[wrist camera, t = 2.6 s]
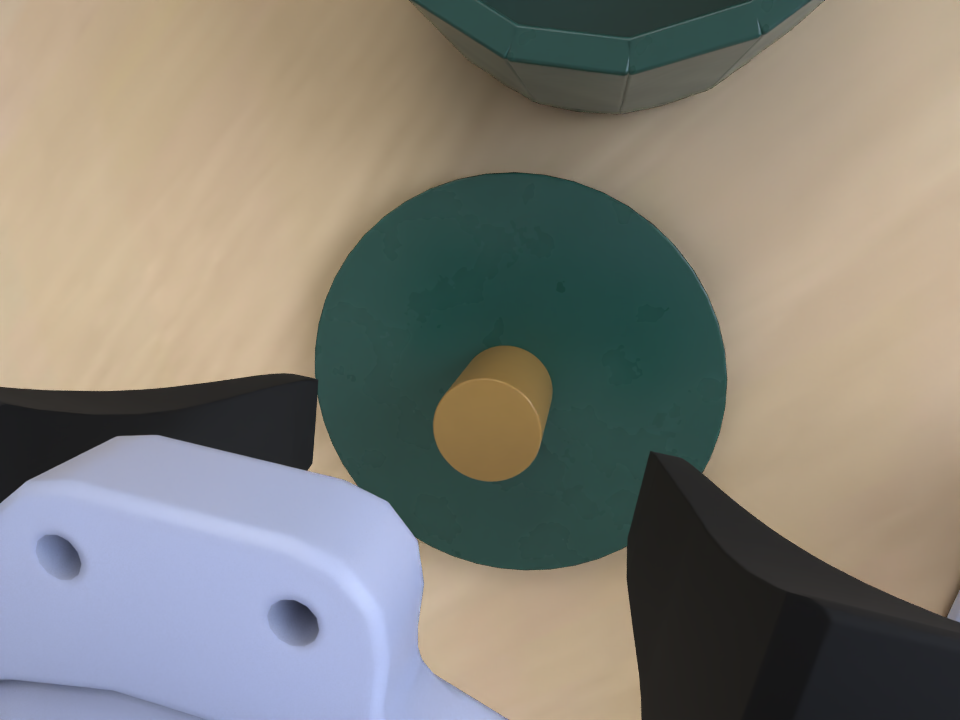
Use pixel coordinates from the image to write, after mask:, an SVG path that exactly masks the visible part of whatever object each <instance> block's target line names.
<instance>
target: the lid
mask: <svg viewBox="0 0 960 720" xmlns="http://www.w3.org/2000/svg"><path fill="white" fill-rule="evenodd" d="M315 378H316V379H319V380H318V400H319V404H320V408H321V412H322V416H323V420H324V423H325V426H326V428H327V431H328V434H329V436H330V439H331V442H332V444H333V446H334V448H335V450H336V452H337V454H338V455H339V457H340V459H341V461H342V463H343V465H344V467H345V468H346V469H347V471H348V472H349V474H350V475H351V477H352V478H353V480H354V481H355V483H356V484H357V485H358V487H359V488H361V489H363V490H365V491H367V492H369V493H371V494H373V495H375V496H377V497H379V498H381V499H383V500H385V501H387V502H389V504H390V505H391V506H392V508H393V509H394V510H395V512H396V513H397V514H398V516H399V517H400V518H401V519H402V521H403V522H404V523H405V525H406V526H407V527H408V529H409V530H410V531H411V533H412V534H413V535H414V536H415V537H416V538H417V539H419V540H421V541H423V542H424V543H426V544H428V545H430V546H431V547H434V548H436V549H438V550H440V551H443V552H445V553H447V554H449V555H452V556H454V557H457V558H460V559H464V560H467V561H470V562H473V563H476V564H481V565H486V566H491V567H497V568H503V569H516V570H547V569H556V568H562V567H569V566H575V565H579V564H582V563H586V562H589V561H593V560H596V559H599V558H602V557H604V556H607V555H609V554H611V553H614V552H616V551H618V550H621V549H623V548H624V547H626V546H627V539H628V534H629V530H630V527H631V523H632V519H633V515H634V511H635V507H636V503H637V499H638V496H639V492H640V488H641V484H642V480H643V476H644V472H645V469H646V465H647V461H648V457H649V453H650V451H653V452H657V453H662V454H666V455H671V456H676V457H680V458H683V459H684V460H686V461H687V462H689V463H690V464H691V465H693V466H694V467H695V468H696V469H698V470H699V471H700V472H701V473H702V472H703V471H704V469H705V467H706V465H707V463H708V461H709V460H710V458H711V455H712V452H713V450H714V447H715V444H716V442H717V439H718V436H719V433H720V429H721V424H722V420H723V415H724V411H725V404H726V389H727V370H726V358H725V349H724V344H723V340H722V336H721V331H720V327H719V323H718V320H717V318H716V315H715V312H714V310H713V307H712V305H711V302H710V299H709V297H708V295H707V293H706V291H705V289H704V288H703V286H702V284H701V282H700V280H699V279H698V277H697V275H696V273H695V272H694V270H693V269H692V267H691V266H690V265H689V263H688V262H687V261H686V259H685V258H684V257H683V255H682V254H681V253H680V252H679V250H678V249H677V248H676V246H675V245H674V244H673V243H672V242H671V241H670V240H669V239H668V238H667V237H666V236H665V235H664V234H662V233H661V232H660V231H659V230H658V229H657V228H656V227H655V226H654V225H653V224H652V223H651V222H649V221H648V220H646V219H645V218H644V217H642V216H641V215H640V214H638V213H637V212H636V211H634V210H633V209H632V208H630V207H629V206H627V205H625V204H623V203H621V202H620V201H618V200H616V199H614V198H612V197H610V196H609V195H607V194H605V193H603V192H601V191H598V190H595V189H593V188H590V187H587V186H585V185H582V184H579V183H577V182H574V181H570V180H566V179H561V178H557V177H552V176H548V175H542V174H530V173H518V172H510V173H492V174H482V175H477V176H472V177H467V178H462V179H457V180H454V181H451V182H448V183H445V184H442V185H440V186H437V187H434V188H431V189H429V190H427V191H425V192H423V193H421V194H419V195H417V196H415V197H413V198H411V199H409V200H407V201H406V202H404V203H403V204H401V205H400V206H398V207H397V208H396V209H394V210H393V211H391V212H390V213H388V214H387V215H386V216H384V217H383V218H382V219H381V220H380V221H379V222H378V223H377V224H376V225H375V226H373V227H372V228H371V229H370V230H369V231H368V232H367V233H366V234H365V235H364V236H363V237H362V239H361V240H360V241H359V242H358V244H357V245H356V246H355V247H354V249H353V250H352V251H351V252H350V254H349V255H348V256H347V258H346V260H345V261H344V263H343V265H342V266H341V268H340V270H339V271H338V273H337V275H336V276H335V278H334V281H333V283H332V285H331V288H330V290H329V292H328V295H327V297H326V300H325V303H324V306H323V310H322V314H321V317H320V321H319V325H318V332H317V339H316V347H315Z"/></svg>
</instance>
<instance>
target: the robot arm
mask: <svg viewBox="0 0 960 720" xmlns="http://www.w3.org/2000/svg"><path fill="white" fill-rule="evenodd" d="M318 380H319V379H314V378H310V377H305V376H300V375H296V374H285V373H283V374H268V375H259V376H251V377H244V378H237V379H230V380H223V381H217V382H209V383H201V384H193V385H184V386H176V387H168V388H157V389H144V390H125V391H54V390H33V389H17V388H5V387H0V720H508V719H507V718H505V717H503V716H502V715H500V714H499V713H497V712H495V711H494V710H492V709H490V708H489V707H487V706H485V705H484V704H482V703H481V702H479V701H477V700H476V699H474V698H472V697H471V696H469V695H467V694H466V693H464V692H463V691H461V690H459V689H458V688H456V687H454V686H453V685H451V684H450V683H448V682H446V681H445V680H443V679H441V678H440V677H438V676H437V675H435V674H434V673H433V672H432V671H431V670H430V669H429V668H428V666H427V665H426V664H425V663H424V661H423V660H422V658H421V655H420V652H419V648H418V622H419V615H420V608H421V601H422V595H423V588H424V580H423V573H422V566H421V560H420V553H419V546H418V540H417V539H416V538H415V536H414V535H413V534H412V533H411V531H410V530H409V529H408V527H407V526H406V525H405V523H404V522H403V521H402V519H401V518H400V517H399V516H398V514H397V513H396V512H395V510H394V509H393V508H392V506H391V505H390V504H389V502H387V501H385V500H383V499H381V498H379V497H377V496H375V495H373V494H371V493H369V492H367V491H365V490H363V489H361V488H359V487H358V486H356V485H354V484H352V483H350V482H348V481H346V480H343V479H339V478H335V477H331V476H326V475H322V474H318V473H314V472H310V471H307V470H308V469H309V467H310V466H311V464H312V461H313V448H314V434H315V421H316V407H317V394H318ZM627 585H628V594H629V602H630V610H631V617H632V625H633V632H634V640H635V647H636V655H637V662H638V670H639V678H640V690H641V717H642V720H960V590H959V592H958V595H957V597H956V599H955V601H954V603H953V605H952V608H951V610H950V612H949V614H948V616H947V618H946V617H943V616H941V615H938V614H935V613H933V612H931V611H928V610H926V609H923V608H921V607H919V606H916V605H914V604H911V603H909V602H906V601H904V600H902V599H899V598H897V597H894V596H892V595H890V594H888V593H886V592H883V591H881V590H879V589H877V588H875V587H872V586H870V585H868V584H866V583H864V582H862V581H860V580H858V579H856V578H854V577H852V576H850V575H848V574H846V573H844V572H842V571H840V570H838V569H837V568H835V567H833V566H831V565H829V564H827V563H825V562H824V561H822V560H820V559H818V558H816V557H815V556H813V555H811V554H810V553H808V552H806V551H805V550H803V549H801V548H800V547H798V546H797V545H795V544H793V543H792V542H790V541H789V540H787V539H785V538H784V537H782V536H781V535H779V534H778V533H776V532H775V531H773V530H772V529H771V528H769V527H768V526H766V525H765V524H764V523H762V522H761V521H760V520H758V519H757V518H756V517H754V516H753V515H752V514H750V513H749V512H748V511H746V510H745V509H744V508H743V507H741V506H740V505H739V504H738V503H736V502H735V501H734V500H733V499H731V498H730V497H729V496H728V495H727V494H725V493H724V492H723V491H722V490H721V489H720V488H718V487H717V486H716V485H715V484H714V483H713V482H711V481H710V480H709V479H708V478H707V477H706V476H705V475H703V474H702V473H701V472H700V471H699V470H698V469H696V468H695V467H694V466H693V465H691V464H690V463H689V462H687V461H686V460H684V459H683V458H680V457H676V456H671V455H666V454H662V453H657V452H653V451H650V453H649V457H648V461H647V465H646V469H645V472H644V476H643V480H642V484H641V488H640V492H639V496H638V499H637V503H636V507H635V511H634V515H633V519H632V523H631V527H630V530H629V534H628V539H627Z"/></svg>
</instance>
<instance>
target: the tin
mask: <svg viewBox="0 0 960 720" xmlns="http://www.w3.org/2000/svg"><path fill="white" fill-rule="evenodd" d="M409 1H410V2H411V3H412V4H413V5H414V6H415V7H416V8H417V9H418V10H419V11H420V12H421V13H422V14H423V15H424V16H425V17H426V18H427V19H428V20H429V21H430V22H431V23H432V24H433V25H434V26H435V27H436V28H437V29H438V30H439V31H440V32H441V33H442V34H443V35H444V36H445V37H446V38H447V39H448V40H449V41H450V42H451V43H452V44H453V45H454V47H455V48H456V49H457V50H458V51H459V52H460V53H461V54H462V55H463V56H464V57H465V58H466V59H467V60H468V61H470V62H472V63H473V64H475V65H476V66H478V67H479V68H481V69H483V70H484V71H486V72H487V73H489V74H490V75H492V76H493V77H494V78H496V79H497V80H498V81H500V82H501V83H502V84H504V85H506V86H507V87H509V88H511V89H513V90H515V91H517V92H519V93H520V94H522V95H524V96H525V97H527V98H528V99H530V100H531V101H533V102H537V103H538V104H544V105H550V106H553V107H558V108H563V109H567V110H572V111H577V112H589V113H604V114H607V113H610V114H619V113H620V114H625V113H629V112H634V111H639V110H644V109H648V108H653V107H658V106H662V105H665V104H668V103H671V102H674V101H677V100H680V99H683V98H686V97H688V96H691V95H693V94H697V93H701V92H704V91H707V90H708V89H711V88H713V87H714V86H716V85H717V84H718V83H720V82H721V81H722V80H724V79H725V78H726V77H728V76H729V75H731V74H732V73H733V72H735V71H736V70H738V69H739V68H741V67H742V66H744V65H745V64H747V63H748V62H749V61H750V60H751V59H753V58H754V57H755V56H756V55H758V54H759V53H760V52H762V51H763V50H765V49H766V48H767V47H769V46H770V45H771V44H773V43H774V42H775V41H777V40H778V39H779V38H781V37H782V36H784V35H785V34H786V33H788V32H789V31H790V30H792V29H793V28H794V27H795V26H796V25H797V24H798V23H800V22H801V21H802V20H803V19H804V18H805V17H806V16H808V15H809V14H810V13H811V12H812V11H813V10H814V9H815V8H817V7H818V6H819V5H820V4H821V3H822V2H823V1H825V0H409Z"/></svg>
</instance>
